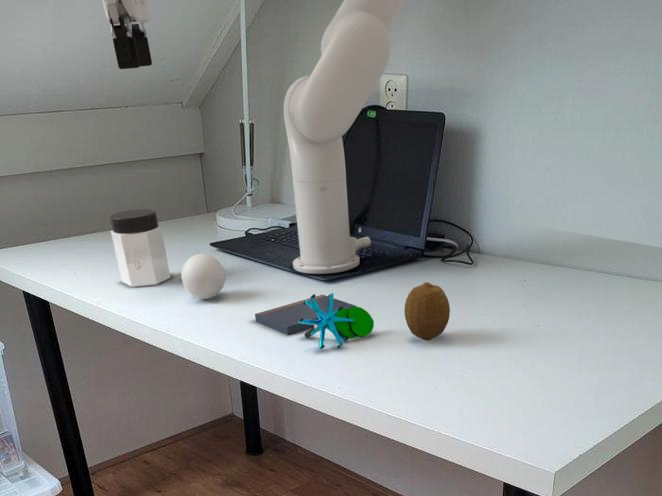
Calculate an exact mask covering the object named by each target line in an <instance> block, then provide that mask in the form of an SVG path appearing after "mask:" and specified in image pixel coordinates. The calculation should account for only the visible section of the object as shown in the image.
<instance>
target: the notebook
mask: <svg viewBox="0 0 662 496" xmlns="http://www.w3.org/2000/svg"><path fill="white" fill-rule="evenodd" d="M314 299H315V301H316V303H317V305H318V307H319V309H321V310H322V311H324V312H325V313H326V314H327V311H328V305H329V297H328V295H325V294H320V295H316V296H315V297H314ZM306 300H308V301H310V302H311V303H312V301H311V299H310V297H309V298H305V299H303V300H299V301H295V302H291V303H289V304H285V305H282V306H278V307H275V308H271V309H268V310H264V311H261V312H258V313H254V318H255V322H257V323H259V324H261V325H264V326H266V327H268V328H270V329H273V330H275V331H278V332H280V333H283V334H285V335H293V334H295V333H298V332H302V331H304V330H308V329H312V328H313V327H314V325H310V324H302V323H298V321H299V320H300V319H301V318H303V320H319V318H318V316H317V313H316V311H315V310H313V309H312V308H311V307H310V306H309V305H307V304H306V305H304V304H303V303H304V302H305V301H306ZM341 306H343V308H348V309H351V308H352V307H358V306H357V305H355V304H352V303H350V302H347V301H343V300H340V299H337V298H334V297H333V312H334V311H336V310H337V309H338V308H340V307H341ZM333 312H332V313H333Z"/></svg>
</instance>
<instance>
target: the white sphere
mask: <svg viewBox="0 0 662 496" xmlns="http://www.w3.org/2000/svg"><path fill="white" fill-rule="evenodd" d="M171 274H181V277H180V280H181V281H182V285H183V287H184V289H185V290H186V291H187V293H189V294H190V295H191V296H193V297H194V298H197V299H201V300H209V299H212V298H214V297H216V296H218V295H219V294H220V293H221V291H222V290H223V289H224V287H225V283H226V272H225V269H224V266H223V265H222V263H221V262H220V261H219V260H218V259H217V258H215V257H214V256H212V255H210V254H206V253H198V254H194V255H192V256H191V257H189V258H188V259H186V261H185V263H184V264H183V266H182V268H181V272H172V273H171Z"/></svg>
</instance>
